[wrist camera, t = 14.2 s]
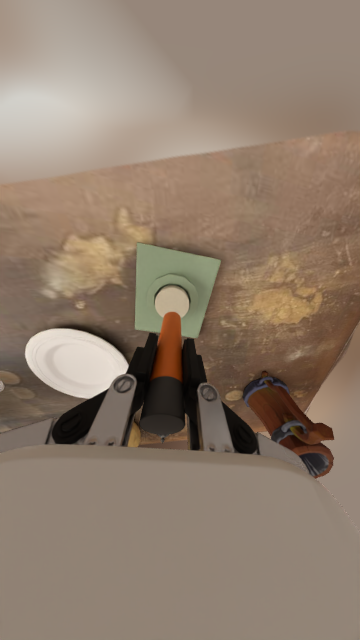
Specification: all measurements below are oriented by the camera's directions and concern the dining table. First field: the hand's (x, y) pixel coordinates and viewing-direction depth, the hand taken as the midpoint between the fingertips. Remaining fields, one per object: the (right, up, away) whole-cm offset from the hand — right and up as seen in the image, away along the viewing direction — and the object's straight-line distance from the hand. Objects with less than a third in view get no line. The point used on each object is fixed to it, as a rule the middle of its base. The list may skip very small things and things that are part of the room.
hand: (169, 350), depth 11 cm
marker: (0, +3, +5) cm, 6 cm away
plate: (-20, -7, +18) cm, 28 cm away
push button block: (0, +7, +11) cm, 13 cm away
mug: (+23, -14, +22) cm, 35 cm away
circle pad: (0, +6, +9) cm, 10 cm away
